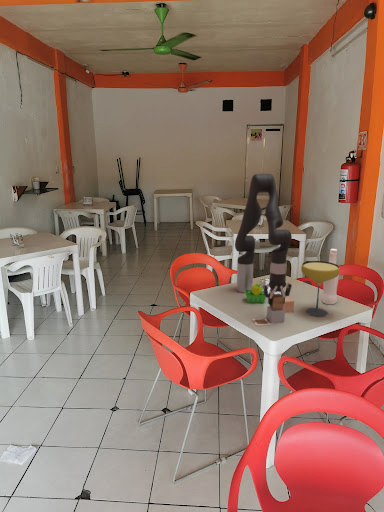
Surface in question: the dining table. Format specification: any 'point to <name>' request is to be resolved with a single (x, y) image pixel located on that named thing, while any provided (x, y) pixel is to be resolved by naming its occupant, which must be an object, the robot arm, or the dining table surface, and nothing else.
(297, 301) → the dining table surface
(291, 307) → the terracotta block
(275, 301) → the walnut block
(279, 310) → the grey block
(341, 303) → the dining table surface
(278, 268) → the robot arm
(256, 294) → the fruit basket
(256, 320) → the tile
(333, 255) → the bottle
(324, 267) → the cocktail glass
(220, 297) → the dining table surface
